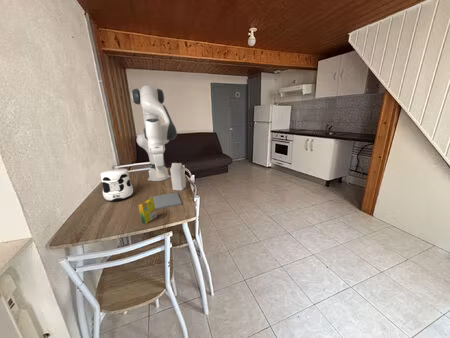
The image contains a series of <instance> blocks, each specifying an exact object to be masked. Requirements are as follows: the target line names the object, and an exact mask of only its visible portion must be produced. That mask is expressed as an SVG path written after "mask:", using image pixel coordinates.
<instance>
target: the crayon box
mask: <svg viewBox="0 0 450 338" xmlns="http://www.w3.org/2000/svg"><path fill="white" fill-rule="evenodd" d="M150 197H151V198H149V197H148V199H146V200H144V201H142V202H141V203H140V204H138V211H139V215H140V219H141V220H140V221H141V223H142V224H144V225H147V224H148V223H149V222H151V221H152V220H154V219H156V218H157V216H158V215H157V212H156V210H155V205H154V200H153V197H154V196H150Z"/></svg>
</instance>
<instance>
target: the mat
mask: <svg viewBox="0 0 450 338" xmlns="http://www.w3.org/2000/svg"><path fill="white" fill-rule="evenodd" d="M151 197H153V200H154V205H155V210H157V211H158V210H161V209H166V208H167V209H168V208H171V207H176V206H182V200H181V198H180V196H179V194H178V191H177V192H172V193H165V194H161V195H155V196H150V197H148V199H149V198H151Z"/></svg>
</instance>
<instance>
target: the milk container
mask: <svg viewBox="0 0 450 338" xmlns="http://www.w3.org/2000/svg"><path fill="white" fill-rule="evenodd" d="M100 179H101V184H102V196H103V198H104V199H105V201H109V202H116V201H117V202H118V201H122V200H125V199H127V198H129V197H130V196H132V195H133V192H134V188H133V185H132V183H131V179H130V175H129V171H128V169H127V168H115V169H114V168H113V169H109V170H105V171H102V172H101V173H100Z"/></svg>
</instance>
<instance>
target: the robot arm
mask: <svg viewBox="0 0 450 338" xmlns="http://www.w3.org/2000/svg"><path fill="white" fill-rule="evenodd" d="M130 96H131V100H132V101H133V103H134V104H135V105H140V107H141V108H142V117H143V124H144V126H145V127H144V128H143V133H140V134H138V135H137V136H136V143H137V145H138V146H139V147H140V148H142V149H143V150H145V152H146V153H147V155H148V159H149V170H148V178H147V181H151V182H160V181H165V180H167V179H169V178H171V174H169V171H168V168H167V167H166V162H165V159H164V158H165V157H164V153H165V151H166V147H165V145H166V144H168V143H169V142H170V141H173V140H174V139H176V137H177V136H178V131H177V128H176V126H175V124H174V122H173V120H172V118H171V116H170V114H169V112H168V109H167V107H166V106H165V105H164V104H163V103H164V102H165V99H166V98H165V97H166V96H165V93H164V91H163V90H162V89H160V88H154V87H153V86H151V85H149V84H147V85H142V86H141V87H140V88H134V89H133V88H132V91H131V95H130ZM159 117H161V118H162V119H163V122H164V123H161V120H160V119H159ZM155 164H156V167H157V168H158V170H159V173H162V167H163V166H164V171H165V177H162V178H157V174H156V168H155Z"/></svg>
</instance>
